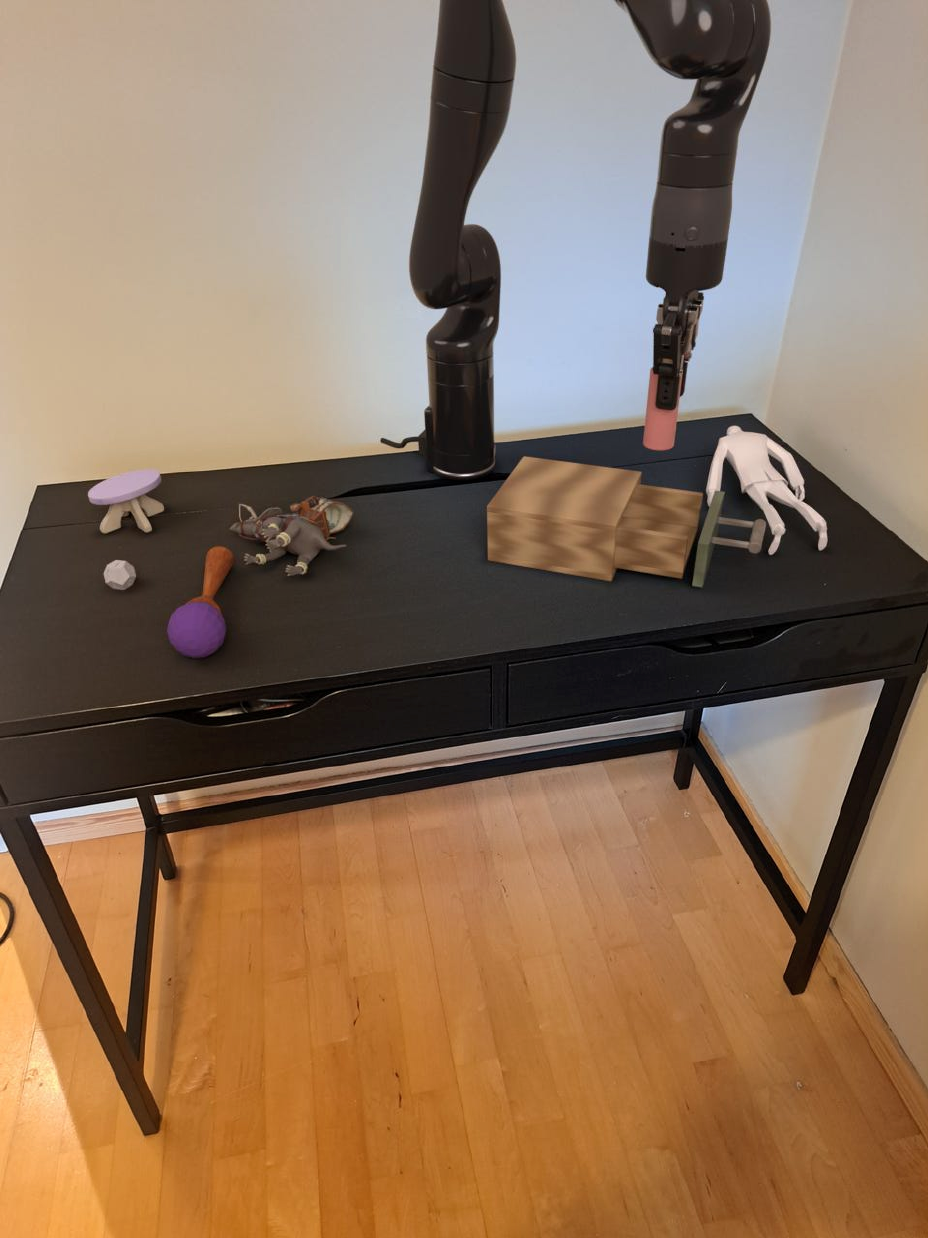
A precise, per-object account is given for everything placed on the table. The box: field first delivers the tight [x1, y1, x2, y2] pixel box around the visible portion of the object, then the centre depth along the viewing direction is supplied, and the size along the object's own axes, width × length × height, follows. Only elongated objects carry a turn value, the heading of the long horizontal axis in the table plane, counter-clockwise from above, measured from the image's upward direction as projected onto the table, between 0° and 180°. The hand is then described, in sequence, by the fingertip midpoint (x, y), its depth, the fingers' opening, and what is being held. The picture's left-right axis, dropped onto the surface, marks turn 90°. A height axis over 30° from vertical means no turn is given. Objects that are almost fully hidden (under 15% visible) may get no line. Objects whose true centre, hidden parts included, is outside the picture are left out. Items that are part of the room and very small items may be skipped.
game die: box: [103, 559, 137, 591], centre depth 108 cm, size 4×4×3 cm
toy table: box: [87, 468, 165, 534], centre depth 121 cm, size 10×9×6 cm
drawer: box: [614, 484, 767, 588], centre depth 108 cm, size 20×13×6 cm
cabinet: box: [486, 456, 643, 582], centre depth 112 cm, size 16×15×8 cm
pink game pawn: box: [642, 359, 683, 451], centre depth 97 cm, size 3×3×11 cm
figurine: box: [229, 495, 354, 577], centre depth 114 cm, size 20×6×17 cm
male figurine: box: [705, 425, 828, 556], centre depth 119 cm, size 14×6×25 cm
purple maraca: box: [166, 546, 235, 659], centre depth 102 cm, size 6×6×20 cm
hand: (669, 400), depth 97 cm, fingers closed on pink game pawn, 3 cm apart
